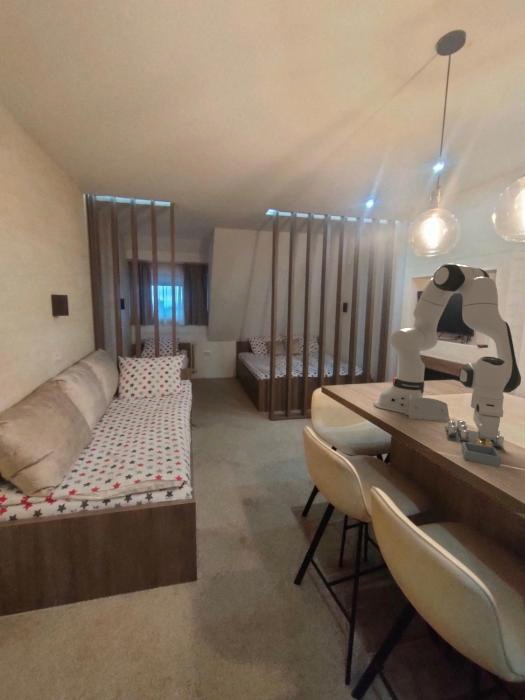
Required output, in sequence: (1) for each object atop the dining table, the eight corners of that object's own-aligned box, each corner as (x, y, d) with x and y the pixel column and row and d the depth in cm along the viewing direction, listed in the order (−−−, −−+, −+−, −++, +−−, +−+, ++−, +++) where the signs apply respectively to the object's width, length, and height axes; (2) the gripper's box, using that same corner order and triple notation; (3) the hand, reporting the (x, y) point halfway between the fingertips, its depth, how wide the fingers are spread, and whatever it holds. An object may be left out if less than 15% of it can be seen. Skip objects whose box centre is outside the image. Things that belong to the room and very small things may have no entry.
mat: (447, 441, 113) (447, 440, 113) (444, 427, 128) (444, 426, 127) (505, 452, 106) (505, 451, 106) (495, 435, 120) (495, 434, 120)
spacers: (448, 439, 114) (450, 429, 113) (446, 427, 126) (447, 418, 125) (503, 449, 107) (504, 438, 106) (494, 436, 119) (496, 426, 118)
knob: (476, 451, 105) (477, 443, 105) (473, 445, 109) (474, 437, 109) (492, 454, 104) (493, 446, 103) (488, 447, 108) (489, 439, 107)
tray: (464, 459, 99) (465, 451, 99) (461, 450, 106) (462, 441, 106) (499, 467, 95) (500, 457, 95) (493, 456, 102) (494, 447, 102)
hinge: (408, 418, 137) (408, 395, 139) (406, 418, 141) (406, 396, 143) (450, 423, 132) (450, 399, 134) (447, 423, 137) (447, 400, 139)
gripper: (471, 395, 118) (467, 430, 120) (480, 410, 100) (475, 451, 102) (491, 398, 116) (486, 433, 117) (504, 414, 97) (499, 455, 99)
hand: (481, 442), depth 110 cm, fingers closed
